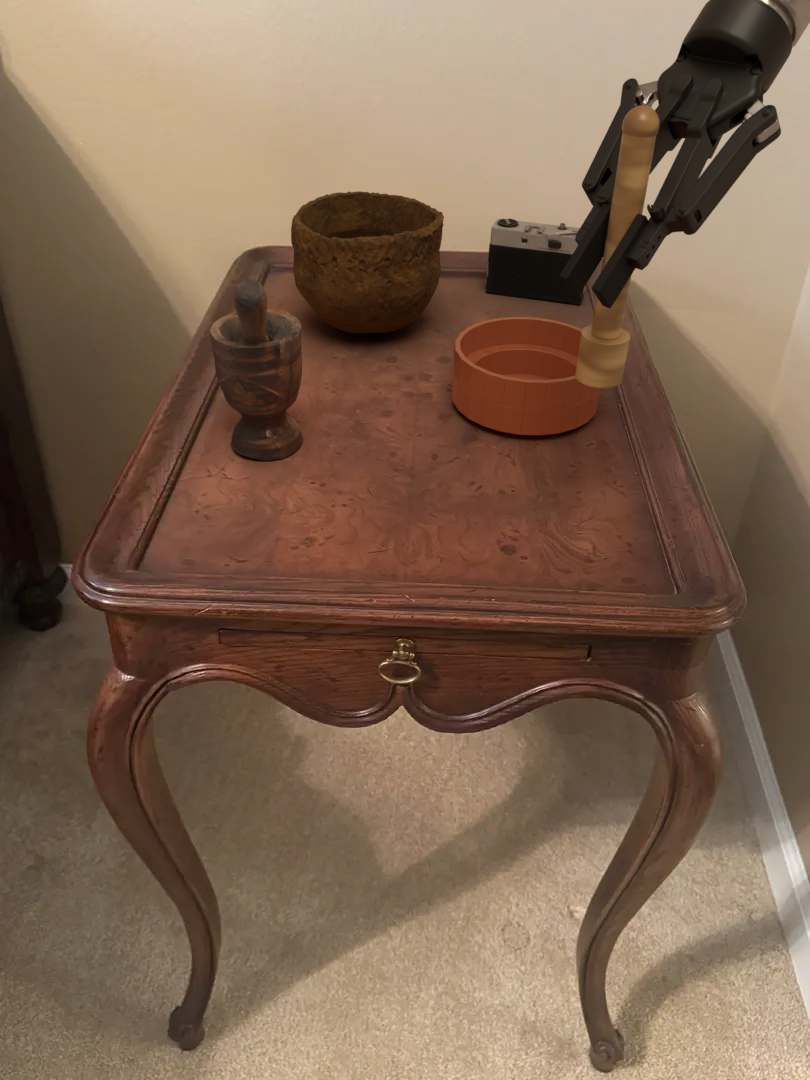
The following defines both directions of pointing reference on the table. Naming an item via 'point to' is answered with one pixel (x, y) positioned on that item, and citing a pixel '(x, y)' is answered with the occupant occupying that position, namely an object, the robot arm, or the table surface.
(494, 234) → the camera
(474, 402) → the mixing bowl
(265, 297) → the mortar and pestle
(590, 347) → the muddler
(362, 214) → the bowl
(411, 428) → the table surface
